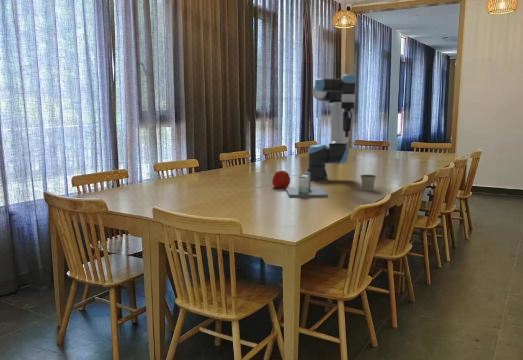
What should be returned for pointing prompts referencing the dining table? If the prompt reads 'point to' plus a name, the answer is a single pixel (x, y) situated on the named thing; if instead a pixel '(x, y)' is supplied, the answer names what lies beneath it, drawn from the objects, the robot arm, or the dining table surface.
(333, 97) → the robot arm
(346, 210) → the dining table surface
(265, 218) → the dining table surface
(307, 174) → the white slab
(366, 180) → the flower pot
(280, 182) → the apple
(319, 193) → the dial plate
